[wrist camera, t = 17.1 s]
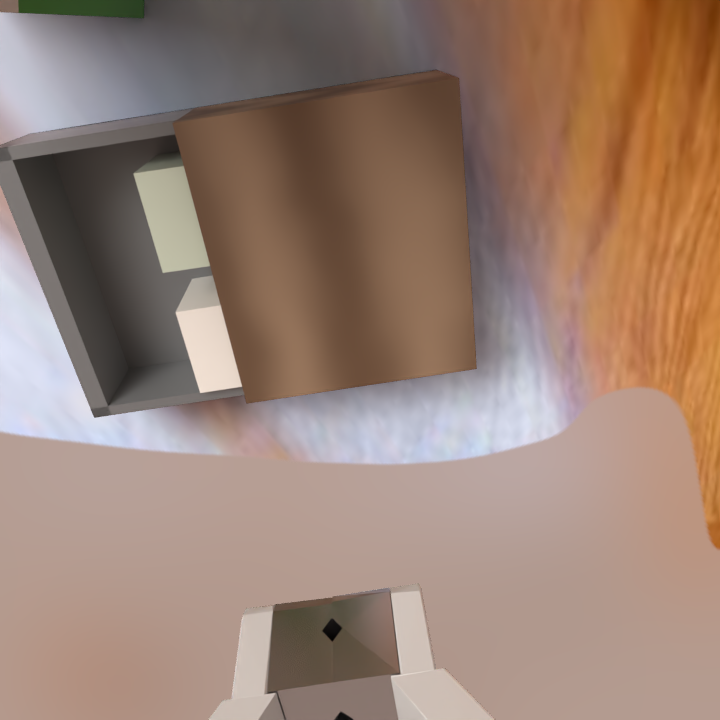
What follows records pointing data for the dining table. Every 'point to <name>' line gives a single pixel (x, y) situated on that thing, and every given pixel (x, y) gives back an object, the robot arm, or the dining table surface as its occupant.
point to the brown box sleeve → (337, 232)
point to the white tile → (207, 337)
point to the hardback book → (76, 7)
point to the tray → (105, 259)
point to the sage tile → (171, 213)
